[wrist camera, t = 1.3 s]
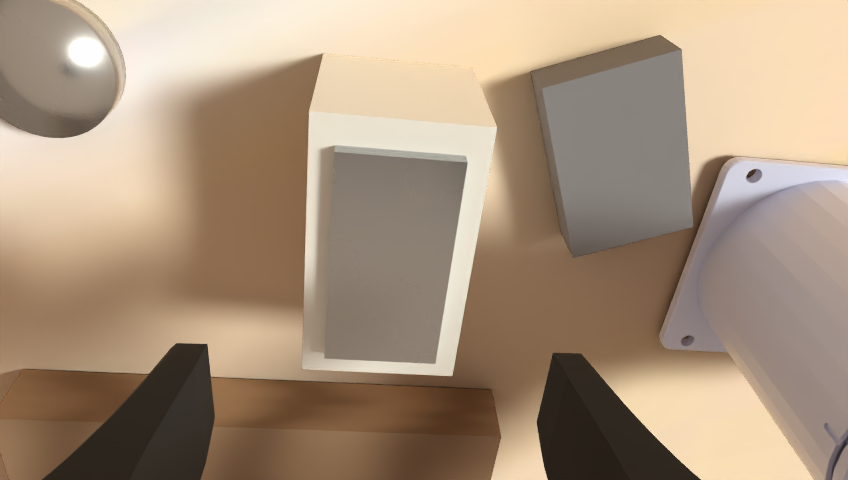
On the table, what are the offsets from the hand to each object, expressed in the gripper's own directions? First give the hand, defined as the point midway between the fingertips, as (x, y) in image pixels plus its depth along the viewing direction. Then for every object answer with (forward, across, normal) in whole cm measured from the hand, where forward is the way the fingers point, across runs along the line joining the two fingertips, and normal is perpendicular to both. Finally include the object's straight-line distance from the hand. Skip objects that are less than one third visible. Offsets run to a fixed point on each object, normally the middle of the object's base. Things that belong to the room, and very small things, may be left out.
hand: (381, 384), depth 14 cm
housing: (+10, 0, 0) cm, 10 cm away
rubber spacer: (+10, -7, -2) cm, 12 cm away
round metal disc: (+10, +10, -4) cm, 14 cm away
